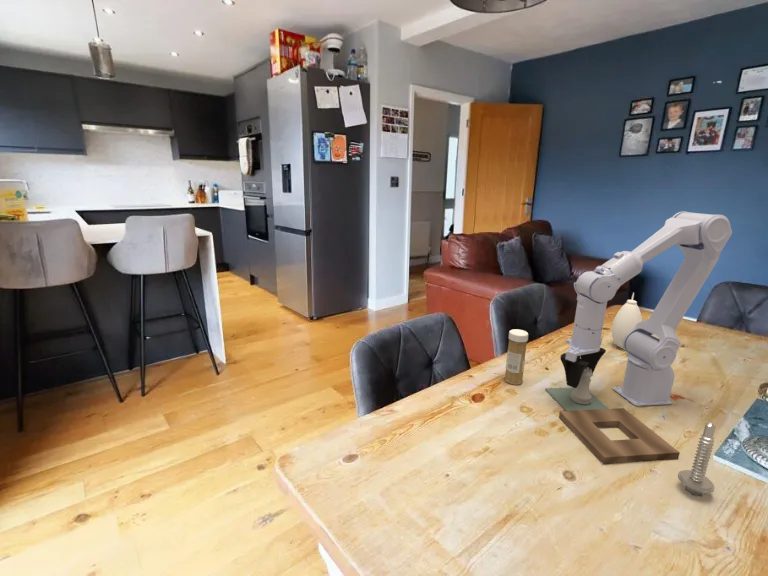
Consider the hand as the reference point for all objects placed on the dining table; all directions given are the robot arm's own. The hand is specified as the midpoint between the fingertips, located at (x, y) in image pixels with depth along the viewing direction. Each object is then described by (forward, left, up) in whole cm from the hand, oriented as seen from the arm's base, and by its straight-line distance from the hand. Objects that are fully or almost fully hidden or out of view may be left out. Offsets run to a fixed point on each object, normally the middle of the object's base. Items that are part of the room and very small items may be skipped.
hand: (579, 380), depth 93 cm
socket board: (+1, +14, -5) cm, 15 cm away
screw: (-3, +29, -5) cm, 30 cm away
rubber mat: (0, 0, -5) cm, 5 cm away
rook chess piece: (0, +1, -5) cm, 5 cm away
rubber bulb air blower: (-33, -28, -5) cm, 44 cm away
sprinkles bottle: (+11, -10, -5) cm, 16 cm away
